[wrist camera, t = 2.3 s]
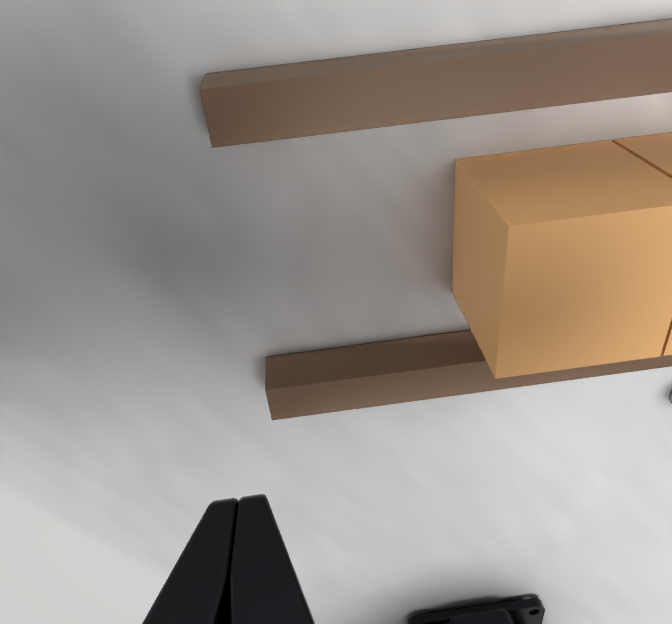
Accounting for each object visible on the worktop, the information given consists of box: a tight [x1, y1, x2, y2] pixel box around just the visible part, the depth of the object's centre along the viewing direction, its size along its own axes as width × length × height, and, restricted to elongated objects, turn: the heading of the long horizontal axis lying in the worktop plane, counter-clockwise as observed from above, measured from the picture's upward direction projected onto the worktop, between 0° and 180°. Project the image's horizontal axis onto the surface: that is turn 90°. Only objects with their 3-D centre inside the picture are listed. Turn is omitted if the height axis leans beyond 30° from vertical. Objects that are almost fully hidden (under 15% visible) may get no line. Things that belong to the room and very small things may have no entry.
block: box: [452, 140, 672, 379], centre depth 14 cm, size 4×4×4 cm
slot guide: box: [199, 19, 672, 420], centre depth 15 cm, size 9×14×2 cm
